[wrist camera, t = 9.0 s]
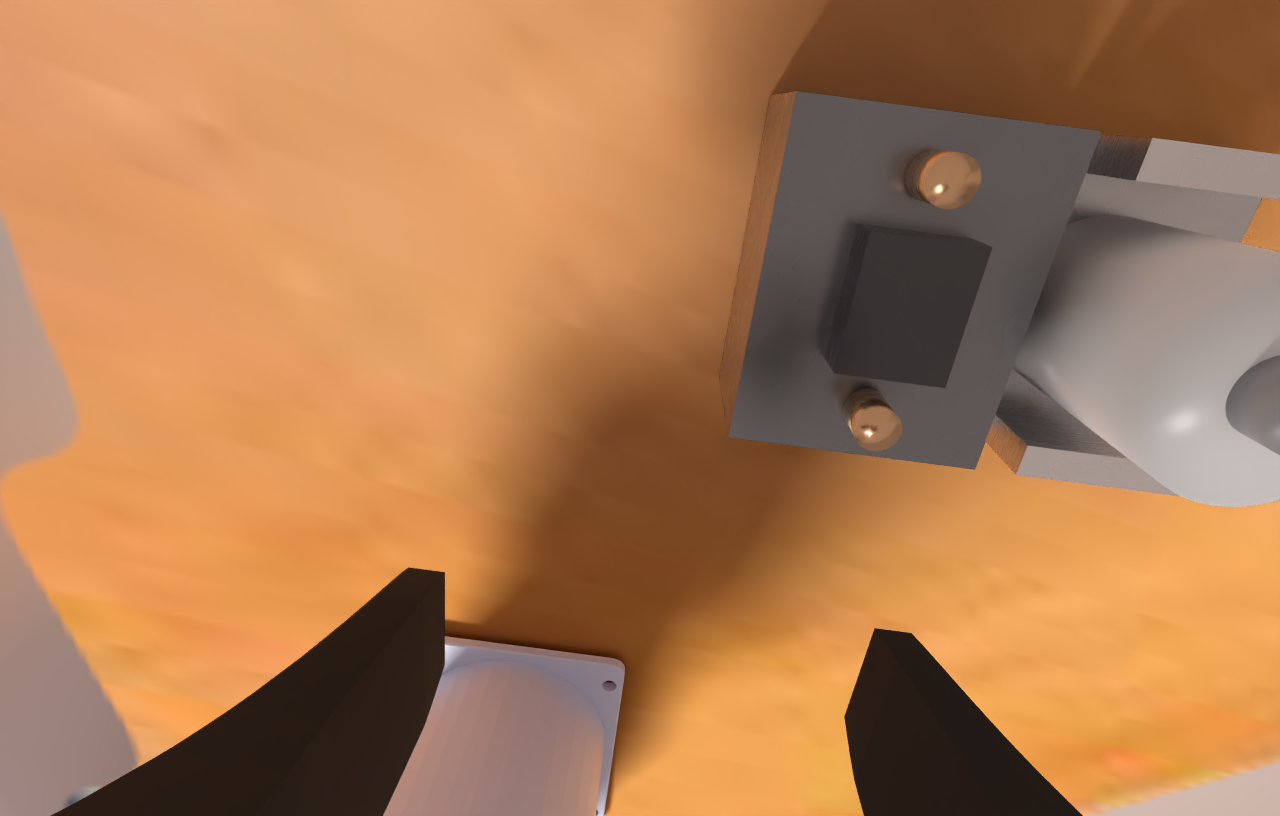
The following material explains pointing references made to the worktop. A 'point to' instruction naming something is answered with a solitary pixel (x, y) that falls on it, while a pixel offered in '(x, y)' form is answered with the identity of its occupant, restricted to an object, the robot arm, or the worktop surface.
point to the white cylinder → (1166, 353)
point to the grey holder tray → (939, 276)
